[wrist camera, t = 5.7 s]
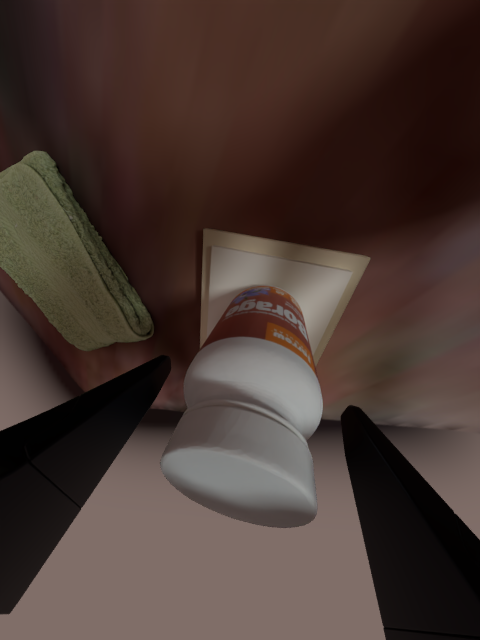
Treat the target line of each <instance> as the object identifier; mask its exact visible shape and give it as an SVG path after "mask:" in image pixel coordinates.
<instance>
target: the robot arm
mask: <svg viewBox="0 0 480 640" xmlns="http://www.w3.org/2000/svg"><path fill="white" fill-rule="evenodd" d="M170 371H171V360H170V357H169V356H165V355H161V356H159V357H157V358H155V359H152V360H150V361H148V362H146V363H144V364H142V365H140V366H138V367H136V368H134V369H132V370H130V371H128V372H126V373H124V374H122V375H120V376H118V377H116V378H114V379H112V380H110V381H108V382H106V383H104V384H102V385H100V386H98V387H96V388H94V389H91V390H89V391H87V392H85V393H83V394H81V395H80V396H77V397H75V398H74V399H71V400H69V401H67V402H65V403H63V404H61V405H58V406H56V407H54V408H52V409H50V410H48V411H46V412H43V413H41V414H39V415H37V416H34V417H32V418H30V419H28V420H25V421H23V422H20V423H18V424H16V425H13V426H11V427H9V428H6V429H4V430H2V431H0V614H10V613H11V611H12V610H13V608H14V607H15V606H16V604H17V603H18V602H19V600H20V599H21V597H22V596H23V594H24V593H25V591H26V590H27V588H28V587H29V585H30V584H31V582H32V581H33V579H34V578H35V577H36V575H37V574H38V572H39V571H40V569H41V568H42V566H43V565H44V563H45V562H46V560H47V559H48V557H49V556H50V554H51V553H52V551H53V550H54V548H55V547H56V546H57V544H58V542H59V541H60V540H61V538H62V537H63V535H64V534H65V532H66V531H67V529H68V528H69V526H70V525H71V523H72V522H73V520H74V519H75V517H76V516H77V514H78V513H79V512H80V510H81V508H82V507H83V505H84V504H85V502H86V501H87V499H88V498H89V497H90V495H91V494H92V492H93V491H94V489H95V488H96V486H97V485H98V483H99V482H100V480H101V479H102V477H103V476H104V474H105V473H106V471H107V470H108V468H109V467H110V465H111V464H112V463H113V461H114V459H115V458H116V457H117V455H118V454H119V452H120V451H121V449H122V448H123V446H124V444H125V443H126V442H127V440H128V439H129V437H130V436H131V435H132V433H133V432H134V430H135V429H136V427H137V425H138V424H139V423H140V421H141V420H142V418H143V417H144V415H145V414H146V412H147V411H148V409H149V408H150V406H151V405H152V403H153V402H154V400H155V399H156V397H157V395H158V394H159V392H160V390H161V388H162V386H163V384H164V382H165V381H166V379H167V377H168V375H169V373H170ZM341 426H342V434H343V442H344V450H345V457H346V461H347V466H348V471H349V475H350V480H351V484H352V488H353V493H354V498H355V502H356V507H357V511H358V516H359V520H360V524H361V529H362V533H363V538H364V542H365V547H366V551H367V556H368V560H369V565H370V569H371V574H372V578H373V583H374V587H375V592H376V596H377V600H378V605H379V610H380V614H381V619H382V623H383V626H384V633H385V637H386V640H480V540H479V539H478V538H477V536H476V535H475V534H474V533H473V532H472V531H471V530H470V529H469V528H468V527H467V525H465V523H464V522H463V521H462V520H461V519H460V518H459V517H458V516H457V515H456V514H454V512H453V510H452V509H451V508H450V507H449V506H448V505H447V503H445V501H444V500H443V499H442V498H441V497H440V496H439V495H438V494H437V492H436V491H435V490H434V489H433V488H432V487H431V486H430V485H429V484H428V482H427V481H426V480H425V479H424V478H423V477H422V476H421V475H420V474H419V472H418V471H417V470H416V469H415V468H414V467H413V466H412V465H411V464H410V463H409V461H408V460H407V459H406V458H405V457H404V456H403V455H402V454H401V453H400V451H399V450H398V449H397V448H396V447H395V446H394V445H393V444H392V443H391V442H390V440H389V439H388V438H387V437H386V436H385V435H384V434H383V433H382V432H381V430H380V429H379V428H378V427H377V426H376V425H375V424H374V423H373V422H372V421H371V419H370V418H369V417H368V416H367V415H366V414H365V413H364V412H363V411H362V409H360V408H359V407H356V406H352V405H349V406H348V407H347V408H346V409H345V411H344V412H343V413H342V415H341Z"/></svg>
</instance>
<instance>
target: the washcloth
mask: <svg viewBox="0 0 480 640" xmlns="http://www.w3.org/2000/svg"><path fill="white" fill-rule="evenodd" d="M0 267H1V268H2V269H3V270H5V271H6V273H8V274H9V276H11V278H12V279H13V280H15V283H18V287H20V288H22V289H23V291H24V293H25V294H28V295H29V297H31V298H32V299H33V300H34V302H35V303H36V304H37V306H38V307H39V308H40V309H41V311H42V312H43V313H44V314H45V316H46V317H47V318H48V320H49V322H50V323H51V324H52V325H53V326H54V327H56V328H57V330H58V332H60V333H61V334H62V336H63V337H64V338H65V340H67V341H68V342H69V343H70V344H73V345H75V347H77V348H78V349H80V350H83V351H91V350H94V349H98V348H101V347H105V346H109V345H111V344H114V342H125V343H128V342H138V341H140V340H146V339H147V338H150V337H151V336H152V335H153V333H154V325H153V322H152V319H151V317H150V314H149V313H148V311H147V309H146V308H145V306H144V305H143V304H142V302H141V300H140V298H139V296H138V294H137V293H136V291H135V289H134V288H133V287H132V286H131V285H130V284H129V281H128V278H127V276H126V275H125V273H124V272H123V270H122V268H121V267H120V266H119V265H118V263H117V262H116V260H115V259H114V258H113V257H112V255H111V254H110V252H109V251H108V248H107V247H106V245H105V244H104V243H103V242H102V237H101V236H98V232H97V231H95V229H94V226H93V225H91V224H90V222H89V219H88V218H87V215H86V213H85V212H84V211H83V209H82V208H81V207H80V206H79V203H77V202H76V200H75V199H74V197H73V193H72V191H71V189H70V187H69V186H68V185H67V184H66V183H65V179H64V178H63V177H62V176H61V174H60V173H59V171H58V169H57V167H56V163H55V161H54V160H52V159H51V157H50V156H49V155H48V154H47V153H46V152H43V151H33V152H31V153H30V154H27V155H26V156H25V157H24V158H23V159H22V161H20V162H19V163H17V164H15V165H12V166H11V167H10V168H7V169H6V170H4V171H2V172H0Z"/></svg>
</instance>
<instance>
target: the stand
mask: <svg viewBox="0 0 480 640" xmlns="http://www.w3.org/2000/svg"><path fill="white" fill-rule="evenodd" d="M370 259H371V258H370V257H367V256H364V255H359V254H353V253H348V252H342V251H336V250H331V249H325V248H319V247H313V246H308V245H302V244H296V243H291V242H285V241H279V240H273V239H268V238H262V237H256V236H251V235H245V234H239V233H234V232H228V231H222V230H216V229H211V228H204V229H203V262H202V295H201V328H200V348H201V347H202V345H203V344H204V342H205V341H206V339H207V338H208V336H209V335H210V333H211V332H212V330H213V329H214V327H215V326H216V324H217V323H218V321H219V320H220V318H221V317H222V315H223V314H224V312H225V311H226V309H227V307H228V306H229V304H230V303H231V301H232V300H233V299H234V298H235V297H236V296H237V295H238V294H239V293H240V292H241V291H243V290H245V289H247V288H249V287H252V286H257V285H272V286H276V287H279V288H281V289H283V290H285V291H287V292H288V293H289V294H291V295H292V296H293V297H294V298H295V299H296V301H297V302H298V304H299V306H300V308H301V310H302V313H303V317H304V321H305V326H306V330H307V334H308V338H309V343H310V347H311V351H312V355H313V359H314V363H315V367H316V365H317V363H318V361H319V359H320V357H321V355H322V353H323V351H324V349H325V347H326V345H327V343H328V341H329V339H330V337H331V335H332V333H333V331H334V329H335V327H336V325H337V323H338V321H339V320H340V318H341V316H342V314H343V312H344V310H345V308H346V306H347V304H348V302H349V300H350V298H351V296H352V294H353V292H354V290H355V288H356V286H357V284H358V282H359V280H360V278H361V276H362V274H363V273H364V271H365V269H366V267H367V265H368V263H369V261H370Z"/></svg>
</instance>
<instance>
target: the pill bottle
mask: <svg viewBox="0 0 480 640" xmlns="http://www.w3.org/2000/svg"><path fill="white" fill-rule="evenodd" d="M184 398H185V402H186V405H187V408H188V409H187V410H186V411H185V412H184V414H183V416H182V418H181V419H180V421H179V423H178V425H177V427H176V429H175V431H174V432H173V434H172V436H171V438H170V440H169V443H168V445H167V447H166V449H165V451H164V453H163V455H162V458H161V462H160V465H161V470H162V472H163V474H164V476H165V477H166V479H167V480H168V481H169V482H170V483H171V484H172V485H173V486H174V487H175V488H176V489H177V490H179V491H180V492H181V493H183V494H184V495H185V496H187V497H188V498H190V499H191V500H193V501H195V502H197V503H199V504H201V505H202V506H204V507H207V508H209V509H211V510H213V511H215V512H218V513H221V514H223V515H225V516H228V517H231V518H234V519H237V520H241V521H244V522H248V523H252V524H257V525H263V526H268V527H277V528H291V527H299V526H303V525H306V524H308V523H310V522H311V521H312V520H313V519H314V518H315V516H316V514H317V497H316V487H315V479H314V469H313V459H312V456H311V453H310V451H309V448H308V445H307V442H306V440H307V439H308V438H309V437H310V436H311V435H312V434H313V433H314V432H315V430H316V428H317V427H318V425H319V423H320V419H321V416H322V410H323V401H322V395H321V390H320V385H319V380H318V376H317V372H316V367H315V363H314V359H313V355H312V351H311V347H310V343H309V338H308V334H307V330H306V326H305V321H304V317H303V313H302V310H301V308H300V306H299V304H298V302H297V301H296V299H295V298H294V297H293V296H292V295H291V294H289V293H288V292H287V291H285V290H283V289H281V288H279V287H276V286H272V285H257V286H252V287H249V288H247V289H245V290H243V291H241V292H240V293H239V294H238V295H237V296H236V297H235V298H234V299H233V300H232V301H231V303H230V304H229V306H228V307H227V309H226V311H225V312H224V314H223V315H222V317H221V318H220V320H219V321H218V323H217V324H216V326H215V327H214V329H213V330H212V332H211V333H210V335H209V336H208V338H207V339H206V341H205V342H204V344H203V345H202V347H201V348H200V350H199V351H198V353H197V354H196V356H195V358H194V359H193V361H192V362H191V364H190V366H189V368H188V370H187V373H186V375H185V379H184Z"/></svg>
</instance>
